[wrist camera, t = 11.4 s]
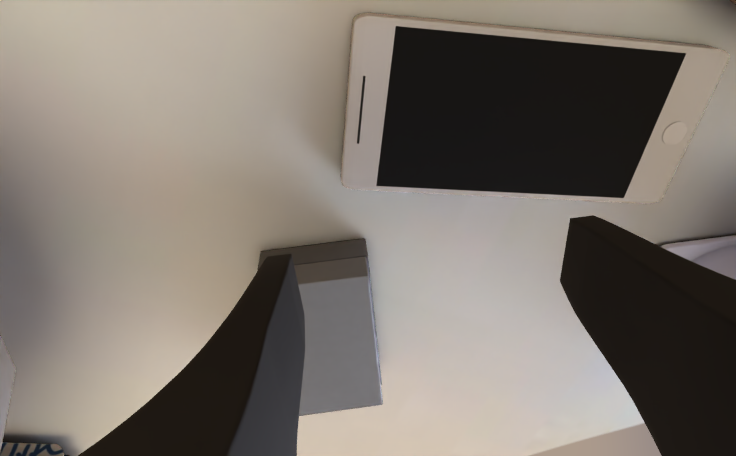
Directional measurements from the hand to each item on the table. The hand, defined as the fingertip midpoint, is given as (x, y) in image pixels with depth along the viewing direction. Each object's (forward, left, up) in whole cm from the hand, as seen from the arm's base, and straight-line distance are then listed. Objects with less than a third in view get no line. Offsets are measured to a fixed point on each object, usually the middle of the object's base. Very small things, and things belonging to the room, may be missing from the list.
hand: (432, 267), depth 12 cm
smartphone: (0, -6, -10) cm, 12 cm away
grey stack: (-10, +4, -10) cm, 15 cm away
